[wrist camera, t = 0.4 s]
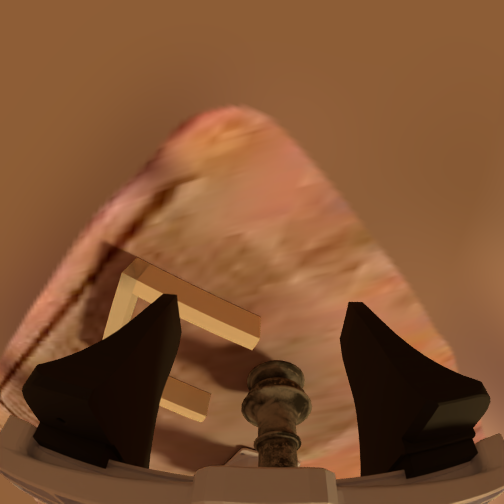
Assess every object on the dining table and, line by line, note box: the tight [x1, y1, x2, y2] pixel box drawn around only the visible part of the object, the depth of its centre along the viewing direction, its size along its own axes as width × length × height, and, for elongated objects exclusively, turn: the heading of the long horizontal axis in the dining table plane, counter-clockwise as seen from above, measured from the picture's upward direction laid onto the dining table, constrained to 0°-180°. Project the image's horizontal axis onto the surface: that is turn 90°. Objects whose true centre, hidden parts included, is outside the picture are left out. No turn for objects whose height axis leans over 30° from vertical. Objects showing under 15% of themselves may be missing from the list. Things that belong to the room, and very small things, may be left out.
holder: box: [102, 257, 261, 423], centre depth 25 cm, size 11×11×3 cm
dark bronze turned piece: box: [242, 361, 312, 468], centre depth 22 cm, size 6×6×12 cm
